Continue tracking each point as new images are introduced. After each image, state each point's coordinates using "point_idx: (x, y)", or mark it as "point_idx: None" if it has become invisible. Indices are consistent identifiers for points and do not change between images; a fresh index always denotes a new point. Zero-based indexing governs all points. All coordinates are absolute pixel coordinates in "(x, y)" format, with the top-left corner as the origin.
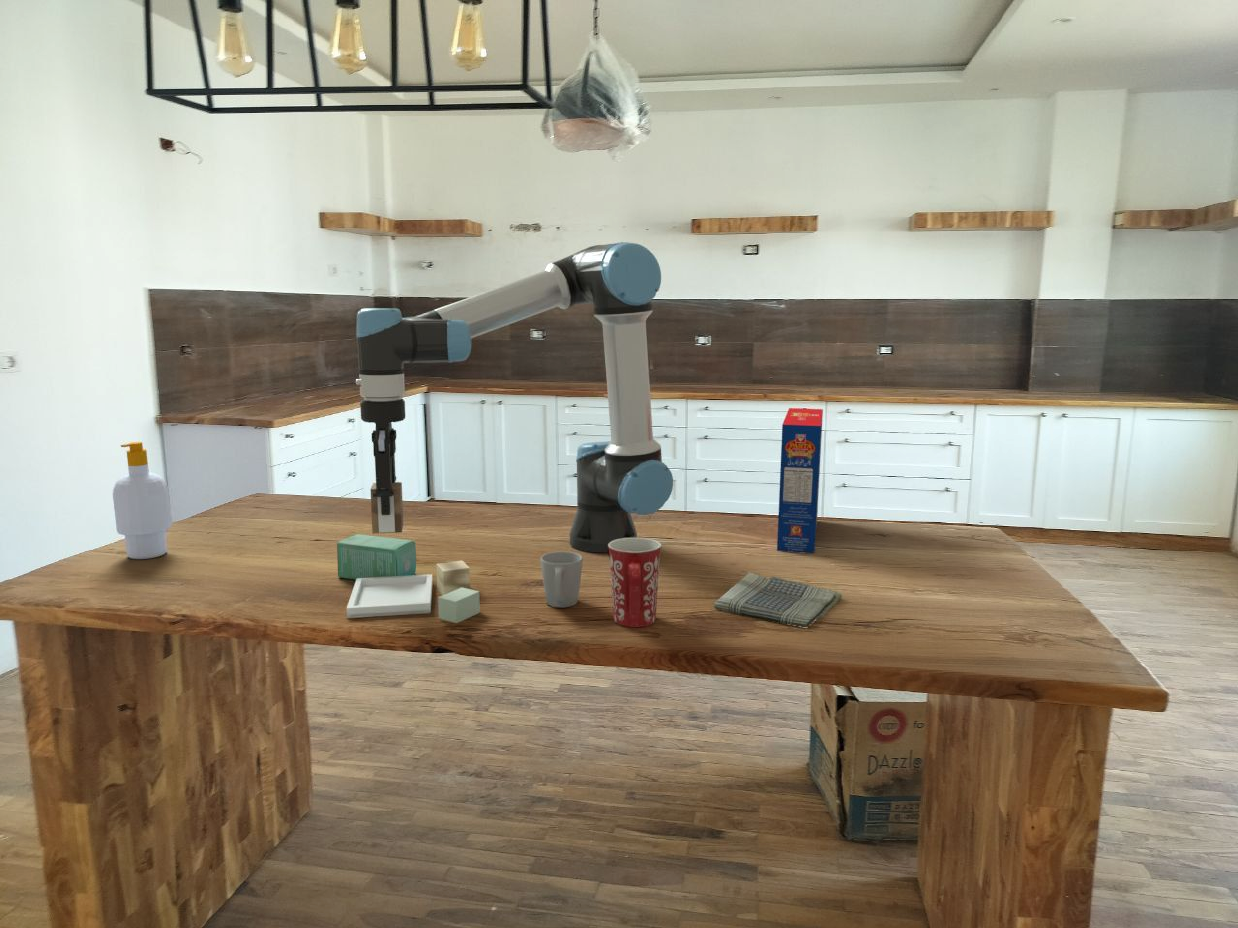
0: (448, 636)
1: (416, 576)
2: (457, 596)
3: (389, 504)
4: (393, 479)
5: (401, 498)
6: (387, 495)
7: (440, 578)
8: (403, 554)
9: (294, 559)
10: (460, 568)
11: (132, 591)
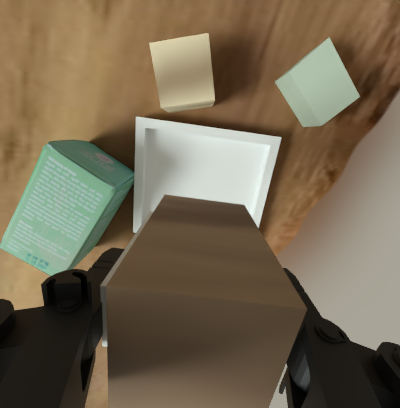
0: (377, 121)
1: (143, 145)
2: (335, 88)
3: (305, 298)
4: (79, 345)
5: (200, 244)
6: (373, 354)
7: (192, 106)
8: (102, 168)
9: (7, 293)
10: (207, 57)
11: (107, 402)
